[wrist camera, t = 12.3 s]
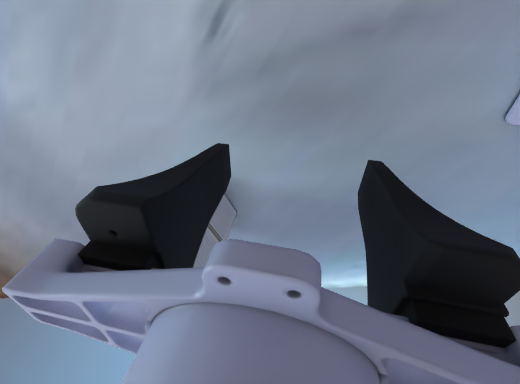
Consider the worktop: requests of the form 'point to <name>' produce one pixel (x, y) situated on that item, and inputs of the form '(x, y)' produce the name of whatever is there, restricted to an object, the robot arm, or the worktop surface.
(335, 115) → the worktop surface
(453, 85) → the worktop surface
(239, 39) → the worktop surface
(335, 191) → the worktop surface
